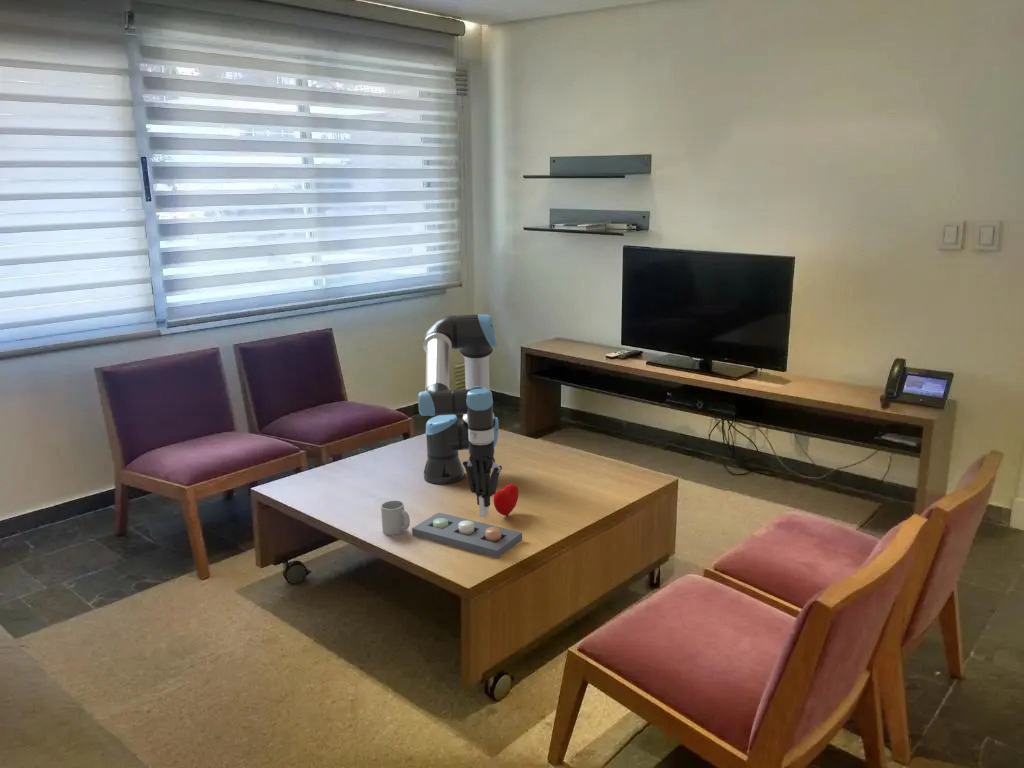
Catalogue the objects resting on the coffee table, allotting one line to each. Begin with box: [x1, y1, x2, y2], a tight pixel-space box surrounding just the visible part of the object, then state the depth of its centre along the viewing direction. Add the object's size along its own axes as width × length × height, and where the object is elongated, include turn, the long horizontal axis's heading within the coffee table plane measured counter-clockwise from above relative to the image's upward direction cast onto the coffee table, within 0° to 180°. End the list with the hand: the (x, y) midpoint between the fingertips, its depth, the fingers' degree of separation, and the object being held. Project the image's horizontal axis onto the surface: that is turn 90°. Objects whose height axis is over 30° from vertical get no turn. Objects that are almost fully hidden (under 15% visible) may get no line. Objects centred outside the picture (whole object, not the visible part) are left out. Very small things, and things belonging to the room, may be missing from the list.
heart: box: [493, 483, 520, 517], centre depth 261 cm, size 12×5×10 cm, turn 148°
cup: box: [380, 500, 411, 536], centre depth 252 cm, size 7×10×9 cm
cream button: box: [458, 519, 474, 536], centre depth 246 cm, size 5×5×3 cm
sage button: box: [433, 518, 448, 529], centre depth 252 cm, size 5×5×3 cm
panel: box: [411, 512, 523, 559], centre depth 247 cm, size 32×14×2 cm, turn 58°
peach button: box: [485, 526, 501, 543], centre depth 241 cm, size 5×5×3 cm
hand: (484, 515), depth 241 cm, fingers closed
